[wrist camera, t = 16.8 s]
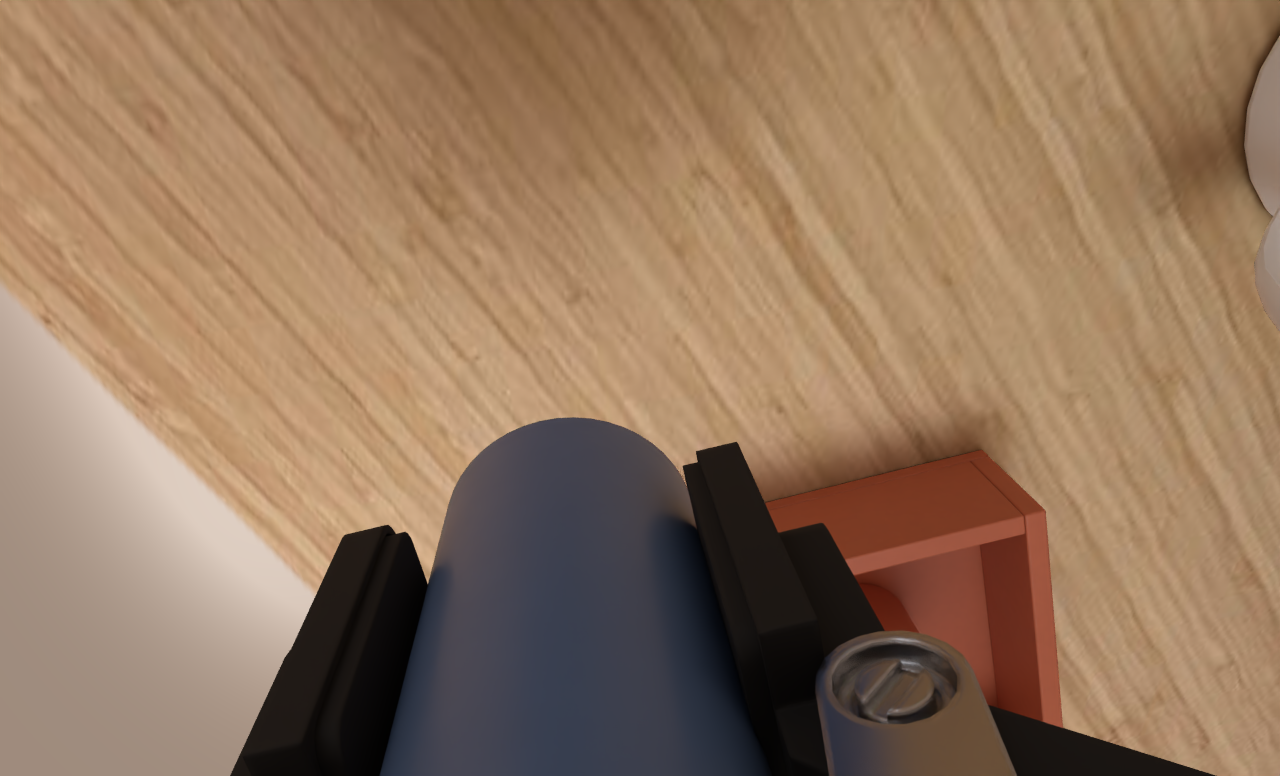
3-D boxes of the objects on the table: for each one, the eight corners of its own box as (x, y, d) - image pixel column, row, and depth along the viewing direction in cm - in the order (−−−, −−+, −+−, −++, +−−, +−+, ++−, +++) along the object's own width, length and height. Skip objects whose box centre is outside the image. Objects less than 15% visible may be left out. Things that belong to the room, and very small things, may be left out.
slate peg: (486, 657, 14) (415, 1204, 7) (413, 448, 12) (250, 878, 6) (714, 603, 14) (853, 1097, 7) (665, 388, 12) (782, 752, 6)
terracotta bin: (724, 776, 31) (745, 874, 28) (660, 527, 28) (675, 600, 24) (1009, 707, 31) (1069, 796, 28) (982, 448, 28) (1046, 510, 24)
